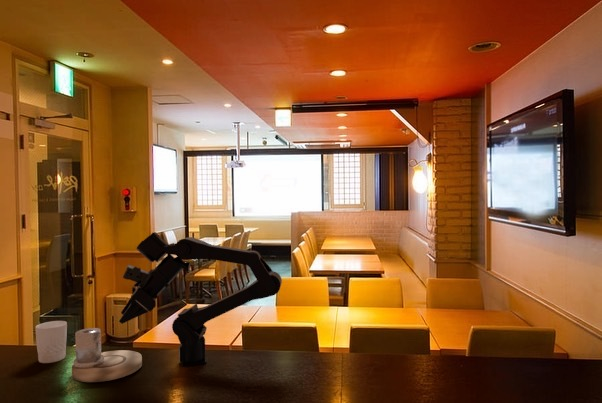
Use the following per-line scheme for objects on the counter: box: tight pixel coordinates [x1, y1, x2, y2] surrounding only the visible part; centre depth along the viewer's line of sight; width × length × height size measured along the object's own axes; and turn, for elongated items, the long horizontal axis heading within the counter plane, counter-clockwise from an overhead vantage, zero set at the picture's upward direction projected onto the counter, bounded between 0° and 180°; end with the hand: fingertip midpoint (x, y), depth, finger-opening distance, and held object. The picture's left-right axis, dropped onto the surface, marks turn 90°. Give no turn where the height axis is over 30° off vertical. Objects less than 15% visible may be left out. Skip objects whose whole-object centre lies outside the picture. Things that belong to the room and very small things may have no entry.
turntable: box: [71, 349, 143, 383], centre depth 116 cm, size 17×17×2 cm
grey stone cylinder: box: [73, 327, 104, 369], centre depth 114 cm, size 7×7×8 cm
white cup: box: [34, 320, 68, 364], centre depth 125 cm, size 8×8×10 cm
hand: (121, 318), depth 117 cm, fingers open, 9 cm apart
